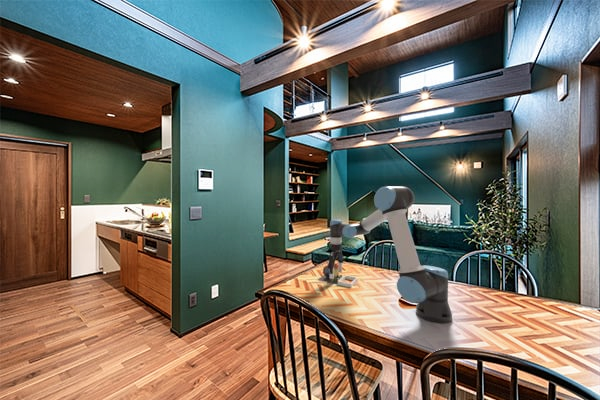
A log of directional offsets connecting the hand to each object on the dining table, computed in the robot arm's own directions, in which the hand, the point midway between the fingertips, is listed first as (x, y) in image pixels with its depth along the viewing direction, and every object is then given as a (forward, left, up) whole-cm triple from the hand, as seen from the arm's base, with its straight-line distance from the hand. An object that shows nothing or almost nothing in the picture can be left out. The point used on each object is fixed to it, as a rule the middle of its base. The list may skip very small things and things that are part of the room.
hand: (335, 275), depth 158 cm
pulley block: (+1, +4, -5) cm, 6 cm away
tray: (+1, -8, -4) cm, 9 cm away
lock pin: (0, 0, -4) cm, 4 cm away
